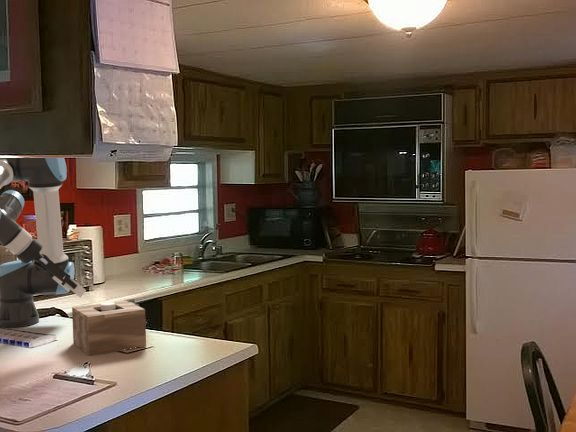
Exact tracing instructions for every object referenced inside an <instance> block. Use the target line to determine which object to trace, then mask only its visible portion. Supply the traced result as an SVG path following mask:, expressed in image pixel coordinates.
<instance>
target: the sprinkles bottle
mask: <svg viewBox="0 0 576 432" xmlns="http://www.w3.org/2000/svg"><path fill="white" fill-rule="evenodd" d="M113 302H114V301H112V302H109V301H108V302H102V303H100V304H101V311H110V310H115V303H113Z"/></svg>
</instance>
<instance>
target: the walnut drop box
mask: <svg viewBox="0 0 576 432" xmlns="http://www.w3.org/2000/svg"><path fill="white" fill-rule="evenodd" d="M112 302H113V303H115V310H110V311H101V304H102V303H95V304H94V303H93V304H88V305H85V304H84V305H80V306H79V305H78V306H71V317H72V340H73V342H72V343H73V344H74V345H75V346H76V347H78V348H79V349H80V350H81V351H83V352H84V353H85V354H86V355H87V356H91V357H92V356H97V355H103V354H109V353H115V352H120V351H119V350H123V351H125V350H124V349H129V350H131V349H130V348H135V347H141V348H145V347H144V346H146V347H147V332H146V329H147V327H146V323H147V322H146V309H145V308H143V307H141V306H140V305H139V306H137V305H138V304H137V305H134V304H132V303H130V302H128V301H124V300H120V301H112ZM135 349H136V348H135Z"/></svg>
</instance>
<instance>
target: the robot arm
mask: <svg viewBox="0 0 576 432" xmlns="http://www.w3.org/2000/svg"><path fill="white" fill-rule="evenodd" d="M67 173H68V169H67V163H66V159H65V157H64V158H0V190H1V189H2V188H3V187H4V186H6V185H9V184H10V183H12V182H27V185H28V186H27V187H28V188H29V189H30V190H31V191H32V192H33V193H32V194H33V203H34V213H35V214H34V215H35V225H36V235H37V236H36V237H37V239H36V238H34V237H33V236H32V234H31V233H29V232H28V231H27V230H26V229H25V228H24V227H22V226H21V225H20V224H19V223H17V220H18V218H19V217H20V215H21V214H22V212H23V208H24V207H25V199H24V197H23V195H22V194H21V193H20V192H18V191H16V190H14V189H9V190H5V191H3V192H2V193H1V194H0V244H1V246H3V247H4V248H6V249H5V252H7V253H8V252H10V253H11V254H13V255H15V257H16V258H17V260H13V261H8V262H5V263H4V262H3V263H2V264H0V328H20V327H27V326H31V325H35V324H37V323H39V322H40V315H39V313H38V310H37V307H36V305H35V303H34V296H37V295H56V296H57V295H61V294H62V295H63V294H67V293H69V292H73V293H74V294H75V295H76V296H77V297H79V298H81V297H83V295H84V294H85V293H86V292H87V290H86V289H85V288H84V287H83V286H82V285H80V284H79V283H78V282H77V281H76V280H75V271H76V270H75V263H74V262H73V261H69V255H67V254H66V253H65V252H64V243H63V241H64V240H63V231H62V230H63V229H62V218H61V217H62V216H61V205H60V194H59V193H60V192H59V189H60V188H61V187H62V186H63V182H64V181H66V180H67V175H68V174H67Z"/></svg>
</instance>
